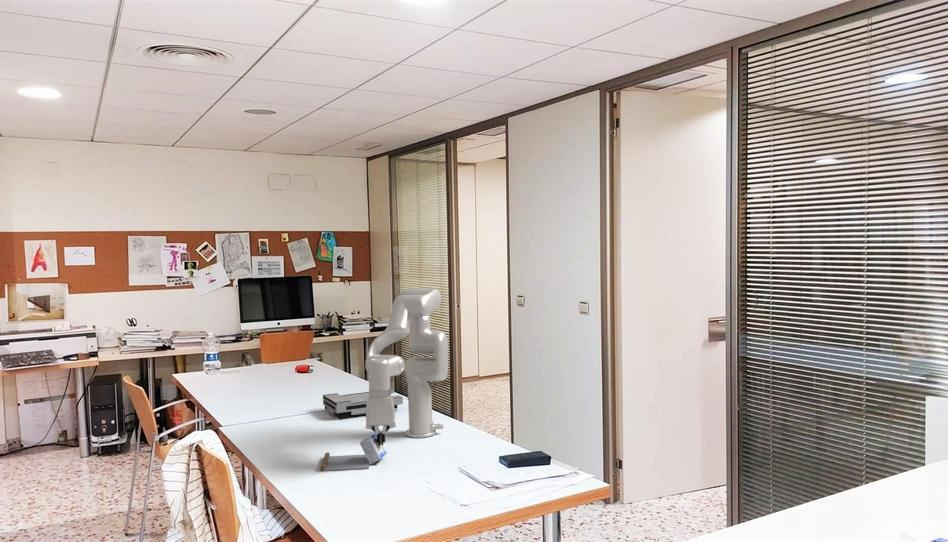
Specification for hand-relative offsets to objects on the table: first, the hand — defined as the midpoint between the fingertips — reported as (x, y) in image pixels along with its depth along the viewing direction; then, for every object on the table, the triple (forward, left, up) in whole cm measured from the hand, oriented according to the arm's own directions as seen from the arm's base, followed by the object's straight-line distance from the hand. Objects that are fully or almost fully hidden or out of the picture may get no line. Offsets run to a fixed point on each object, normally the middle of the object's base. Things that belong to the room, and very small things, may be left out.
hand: (381, 444), depth 242 cm
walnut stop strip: (+20, 0, -6) cm, 21 cm away
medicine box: (+1, 0, -6) cm, 6 cm away
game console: (+11, -79, -7) cm, 80 cm away
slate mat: (+12, 0, -6) cm, 14 cm away
